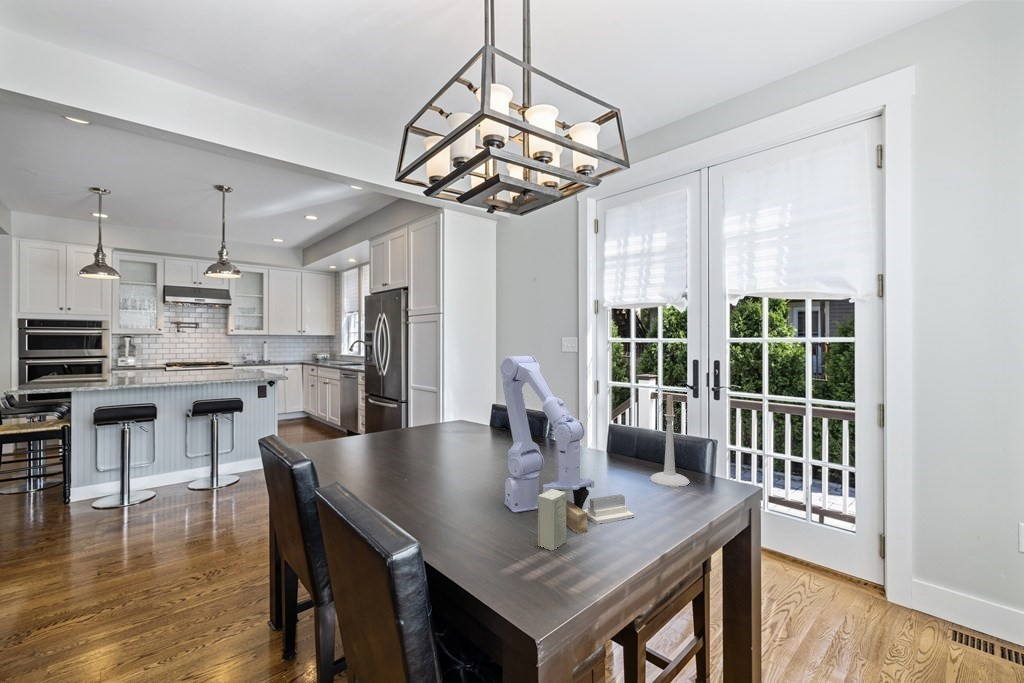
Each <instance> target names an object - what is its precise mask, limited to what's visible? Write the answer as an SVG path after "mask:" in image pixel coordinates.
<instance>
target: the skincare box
mask: <svg viewBox="0 0 1024 683" xmlns="http://www.w3.org/2000/svg"><path fill="white" fill-rule="evenodd" d="M566 499H567V491H559V490H555V489H550V490H548V491H546V492H542V493H540V494H539V495H538V509H537V546H538V547H540V546H541V548H543V547H544V548H543V549H546V550H548V549H549V551H551V550H553V551H555V550H556V549H558V548H559V547H561V546H563V545H564V544H565V543H566V542H567V525H566ZM557 547H558V548H557ZM554 549H555V550H554Z"/></svg>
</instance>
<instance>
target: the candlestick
mask: <svg viewBox="0 0 1024 683" xmlns="http://www.w3.org/2000/svg"><path fill="white" fill-rule="evenodd" d="M673 399H674V398H673V395H672V394H668V395H666V413H665V414H663V416H665V420H666V423H667V424H666V431H665V434H666V435H665V453H664V467H663V468H664V469H663V471H660V472H655V473H653V474H652V475H651V476H650V477H649V481H650V480H651V481H652V483H653V482H654V483H653V484H655V483H656V484H655V485H657V484H660V485H659V486H661V485H664V486H663V487H666V486H670V487H669V488H680V487H679V486H685V487H687V486H686V485H688V484H689V483H690V479H689V478H687V477H686V476H685V475H682V474H680V473H677V472H676V462H675V445H674V428H673V426H674V425H673V421H675V419H674V417H676V415H675V414H673V413H674V411H673V410H674V409H673V408H674V405H673V404H674V403H673V401H674V400H673ZM651 481H650V482H651ZM689 485H690V484H689ZM689 485H688V486H689Z"/></svg>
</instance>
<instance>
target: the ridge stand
mask: <svg viewBox="0 0 1024 683" xmlns="http://www.w3.org/2000/svg"><path fill="white" fill-rule="evenodd" d="M625 497H626V496H624V495H623V494H621V493H620V494H611V495H607V496H601V497H600V496H599V497H593V498H589V506H587V508H586V509H582V510H583V511H585V512H586V513H587V519H588V518H589V519H590V520H589V519H588V520H589V521H591V520H592V521H593V523H594V524H595V525H600V523H602V524H606V523H607V522H608V523H614V522H619V521H623V520H622V519H625V520H628V519H627V518H631V519H633V518H632V517H634V518H635V513H633V512H631V511H629V510H628V506H627V505H625V504H626V498H625ZM618 520H619V521H618ZM592 521H591V522H592ZM613 521H614V522H613ZM608 523H607V524H608Z"/></svg>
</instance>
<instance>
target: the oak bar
mask: <svg viewBox="0 0 1024 683" xmlns="http://www.w3.org/2000/svg"><path fill="white" fill-rule="evenodd" d="M583 510H584V509H583V508H582V509H581V508H579V507H578V506H576V505H575V504H574V502H573V501H570V500H569V499H567V498H566V526H567V525H568V528H570V529H571V530H572V529H573V530H574V532H575V533H576V532H577V533H579V534H583V532H584V533H587V532H588V518H587V513H586V512H585V511H583ZM573 530H572V531H573ZM577 533H576V534H577Z"/></svg>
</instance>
